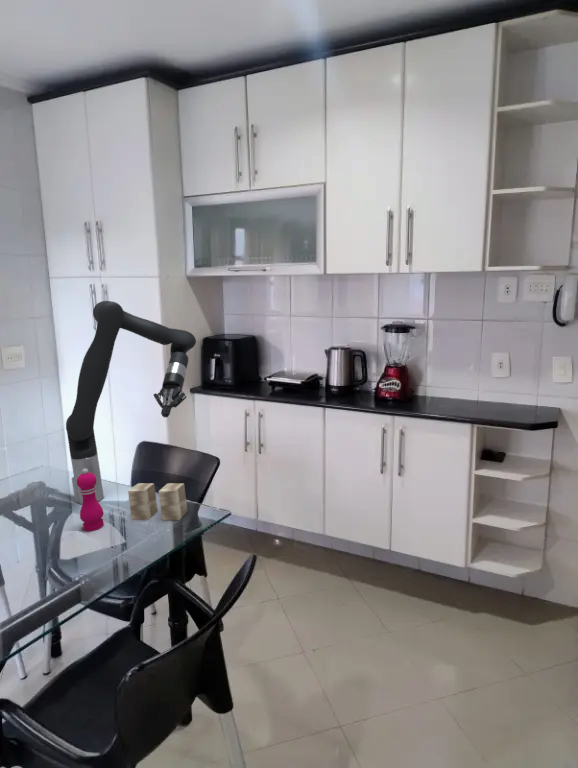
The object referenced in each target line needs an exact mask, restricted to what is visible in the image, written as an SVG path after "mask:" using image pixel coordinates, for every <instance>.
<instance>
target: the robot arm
mask: <svg viewBox="0 0 578 768" xmlns="http://www.w3.org/2000/svg"><path fill="white" fill-rule="evenodd" d="M92 315H93V318H94V319H95V321H96V322H97V324H96V330H95V334H94V338H93V339H92V342H91V343H90V345H89V347H88V349H87V351H86V353H85V355H84V356H83V359H82V363H81V366H80V370H79V375H78V380H77V381H78V382H77V390H76V398H75V403H74V407H73V409H72V412H71V414H70V415H69V416H68V417H67V419H66V421H65V429H66V435H67V440H68V442H67V443H68V449H69V454H70V461H71V467H72V473H73V477H72V478H71V483H72V490H73V496H74V503H78V504H80V505H82V504H83V497H82V494H80V487H78V485H77V478H78V477H79V476H80V475H81V474H83V473H82V470H83V469H88V473H93V474H94V475H95V476H96V479H97V481H96V484H95V486H96V491H95V495H96V499H97V501H98V502H101V500H103V499H104V497H105V496H104V489H103V483H102V482H103V481H102V476H101V468H100V462H99V456H98V448H97V447H98V446H97V442H96V436H95V430H94V425H95V417H96V411H97V406H98V402H99V400H100V398H101V395H102V392H103V390H104V386H105V383H106V380H107V376H108V373H109V368H110V366H111V365H110V364H111V360H112V356H113V352H114V348H115V343H116V339H117V337H118V334H119V332H120V330H121V329H122V330H125V331H128V332H130V333H133V334H135V335H138V336H140V337H143V338H145V339H147V340H149V341H152V342H154V343H157V344H158V345H159V344H160V345H163V346H168V345H170V348H169V349H170V353H169V355H170V358H169V361H168V365H167V368H166V370H165V374H164V376H163V377H164V378H163V381H162V387H161V389H160V390H159V392H158V393H153V397H154V399H155V401H156V403H157V404H158V405H159V407H160V408H161V411H160V414H161V416H162V418H168V417H169V416H170V415H171V412H172V409H173V408H177V407H178V406H180V404H181V403H183V402H184V400H186V399H187V394H186V393H185V392H184V391H183V386H184V383H185V379H186V375H187V369H188V364H189V356H188V354H187V353H188V352H189V351H190V350H192V349H193V348H194V347H195V346H196V344H197V340H196V336H194V335H193V334H192V333H191V332H190V331H188V330H184V329H178V328H170V327H167V326H165V325H162V324H161V323H158V322H156V321H155V322H154V321H152V320H149V319H145V318H142V317H139V316H137V315H133V314H131V313H130V312H127V311H125V310H124V309H123V307H122V306H121V305H120V304H119V303H118V302H115V301H111V300H103V301H100V302H97V303H96V304H95V306H94V307H93V308H92Z"/></svg>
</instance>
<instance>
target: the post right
mask: <svg viewBox="0 0 578 768" xmlns="http://www.w3.org/2000/svg"><path fill="white" fill-rule="evenodd" d="M158 498H159V504H160V505H159V506H160V514H161V520H162V521H180V520H181V519H182V518H183V517H184V516H185V515H186V514H187V513H188V503H187V497H186V488H185V483H176V482H174V483H172V482H171V483H166V484H165V485H164V486H163V487H161V488H160V489H159V490H158Z"/></svg>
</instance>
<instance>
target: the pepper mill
mask: <svg viewBox="0 0 578 768" xmlns="http://www.w3.org/2000/svg"><path fill="white" fill-rule="evenodd" d="M82 473H83V474H81V475H80V476H79V477H78V478H77V485H78V487H80V494H82V497H83V504H81V509H80V512H79V519H80V521H82V522H83V523H82V529H83V530H84V531H85V532H92V531H96V530H99V529H101V528H103V527H104V525H105V523H104V519H103V516H104V510H103V509H104V508H103V507H102V506H101V503H100V501H97V499H96V495H95V491H96V486H95V484H96V481H97V479H96V476H95V475H94V474H93V473H88V469H83V470H82Z"/></svg>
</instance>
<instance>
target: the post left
mask: <svg viewBox="0 0 578 768" xmlns="http://www.w3.org/2000/svg"><path fill="white" fill-rule="evenodd" d="M155 487H156V486H155V483H154V482H153V483H147V482H146V483H141V482H140V483H137V484H136V485H135V484H134V485H133V487H132V488H130V489H129V490H127V494H128V500H129V507H130V517H131V520H136V521H137V520H140V521H141V520H142V521H143V520H144V521H146V520H147V521H148V520H150V519H151V518H152V517H153V516H154V515H155V514H156V513H158V511H159V510H158V503H157V494H156V488H155Z"/></svg>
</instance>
